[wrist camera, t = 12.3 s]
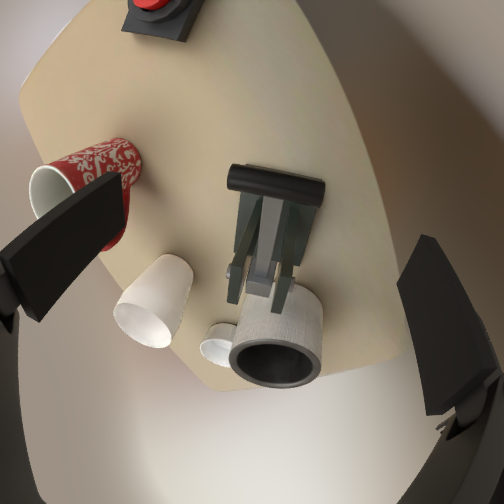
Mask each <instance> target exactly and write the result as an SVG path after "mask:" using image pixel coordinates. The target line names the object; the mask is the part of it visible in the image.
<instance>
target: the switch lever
mask: <svg viewBox="0 0 504 504" xmlns="http://www.w3.org/2000/svg"><path fill="white" fill-rule="evenodd" d="M227 188H228V189H229V190H234V191H240V192H245V193H250V194H255V195H260V196H264V197H263V205H262V214H261V223H260V231H259V240H258V248H257V257H252V259H251V263H250V267H249V271H248V275H247V279H246V291H245V293H248V294H252V295H257V296H261V297H266V298H269V295H270V292H271V288H272V284H273V279H274V274H275V269H276V265H277V262H274V261H271V258H272V253H273V249H274V244H275V239H276V235H277V230H278V225H279V221H280V216H281V211H282V206H283V201H284V200H285V201H289V202H294V203H299V204H303V205H308V206H312V207H316V208H320V206H321V204H322V201H323V197H324V192H325V182H323V181H319V180H315V179H310V178H306V177H301V176H297V175H292V174H287V173H282V172H278V171H273V170H267V169H262V168H257V167H251V166H245V165H240V164H232V165H231V167H230V169H229V173H228V178H227Z"/></svg>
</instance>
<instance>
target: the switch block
mask: <svg viewBox="0 0 504 504" xmlns="http://www.w3.org/2000/svg"><path fill="white" fill-rule="evenodd" d="M203 1H204V0H170V1H169V2H168V3H167V4H166V5H165V6H163V7H161V8H159V9H156V10H148V9H144V8H141V7H138V6H136V5H135V4H134V2H133V0H128V9H129V11H128V14H127V16H126V19H125V22H124V24H123V27H122V30H121V31H124V32H132V33H139V34H145V35H151V36H157V37H162V38H167V39H172V40H177V41H181V42H186V39H187V37H188V34H189V32H190V30H191V27H192V25H193V23H194V21H195V18H196V16H197V14H198V12H199V10H200V8H201V6H202V3H203Z"/></svg>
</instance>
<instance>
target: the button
mask: <svg viewBox="0 0 504 504" xmlns="http://www.w3.org/2000/svg"><path fill="white" fill-rule="evenodd" d="M169 1H170V0H133V2H134V4H135V5H136V6H138V7H141V8H144V9H148V10H156V9H159V8H161V7H163V6H165V5H166V4H167V3H168V2H169Z"/></svg>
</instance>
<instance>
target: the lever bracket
mask: <svg viewBox="0 0 504 504" xmlns="http://www.w3.org/2000/svg"><path fill="white" fill-rule="evenodd" d="M245 166H251V167H257V168H262V169H267V170H273V171H278V172H282V173H287V174H292V175H297V176H301V177H306V178H310V179H315V180H319V181H322V180H321V179H316V178H312V177H308V176H303V175H299V174H294V173H289V172H285V171H280V170H275V169H270V168H264V167H259V166H253V165H248V164H246V165H245ZM263 197H264V196H260V195H255V194H250V193H245V192H241V194H240V203H239V211H238V219H237V227H236V236H235V245H234V253H235V256H234V258H233V261H232V263H230V264H229V265H228V268H227V273H226V278H227V279H229V286H228V296H227V302H228V303H232V304H236V305H237V304H238V302H239V298H240V295H241V292H242V289H243V285H244V282H245V279H246V276H247V272H248V269H249V266H250V263H251V259H252V256H253V257H257V248H258V240H259V231H260V223H261V214H262V205H263ZM315 211H316V207H312V206H308V205H303V204H299V203H294V202H289V201H285V200H284V201H283V206H282V211H281V216H280V221H279V225H278V230H277V235H276V239H275V244H274V249H273V253H272V258H271V261H276V262H279V267H278V272H277V278H276V284H275V289H274V295H273V300H272V306H271V311H270V312H271V313H276V314H281V313H282V310H283V307H284V304H285V300H286V297H287V294H288V292H291V293H292V292H293V289H294V284H295V277H292V274H293V265H294V266H300V264H301V261H302V257H303V254H304V251H305V247H306V244H307V240H308V237H309V233H310V229H311V226H312V222H313V219H314V215H315Z"/></svg>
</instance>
